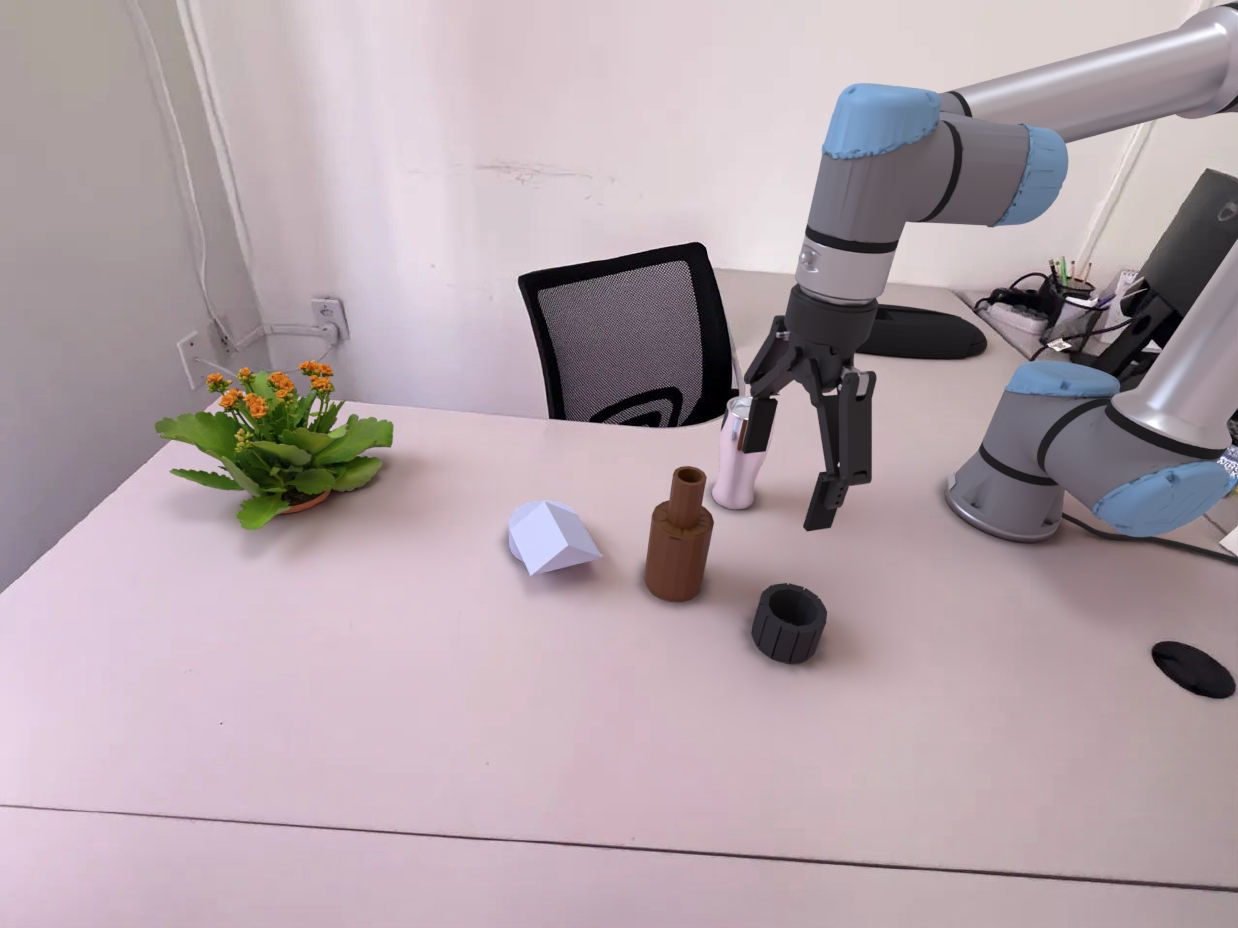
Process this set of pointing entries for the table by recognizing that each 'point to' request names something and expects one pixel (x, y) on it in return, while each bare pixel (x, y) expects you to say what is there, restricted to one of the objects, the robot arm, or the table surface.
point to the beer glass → (737, 458)
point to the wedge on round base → (549, 537)
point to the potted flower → (279, 443)
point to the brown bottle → (679, 539)
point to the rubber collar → (784, 637)
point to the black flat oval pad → (922, 334)
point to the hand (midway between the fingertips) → (782, 486)
